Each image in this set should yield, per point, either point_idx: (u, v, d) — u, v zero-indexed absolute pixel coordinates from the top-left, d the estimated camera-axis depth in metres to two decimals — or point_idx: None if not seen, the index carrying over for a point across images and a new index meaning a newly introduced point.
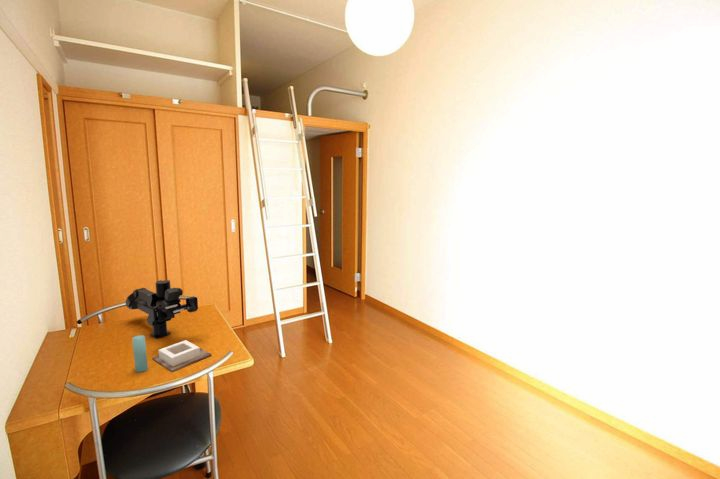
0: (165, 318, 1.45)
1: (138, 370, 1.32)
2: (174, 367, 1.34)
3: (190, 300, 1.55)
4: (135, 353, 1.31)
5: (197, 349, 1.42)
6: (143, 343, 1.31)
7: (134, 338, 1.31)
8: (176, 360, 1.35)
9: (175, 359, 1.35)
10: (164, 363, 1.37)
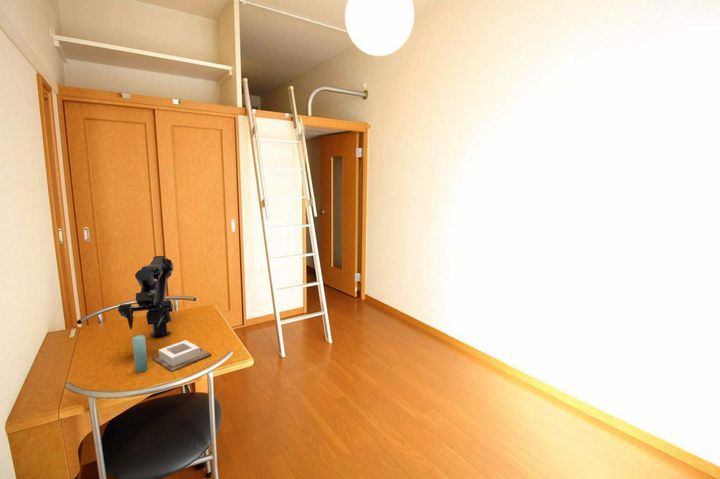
0: None
1: (138, 370, 1.32)
2: (174, 367, 1.34)
3: (160, 308, 1.42)
4: (135, 353, 1.31)
5: (197, 349, 1.42)
6: (143, 343, 1.31)
7: (134, 338, 1.31)
8: (176, 360, 1.35)
9: (175, 359, 1.35)
10: (164, 363, 1.37)
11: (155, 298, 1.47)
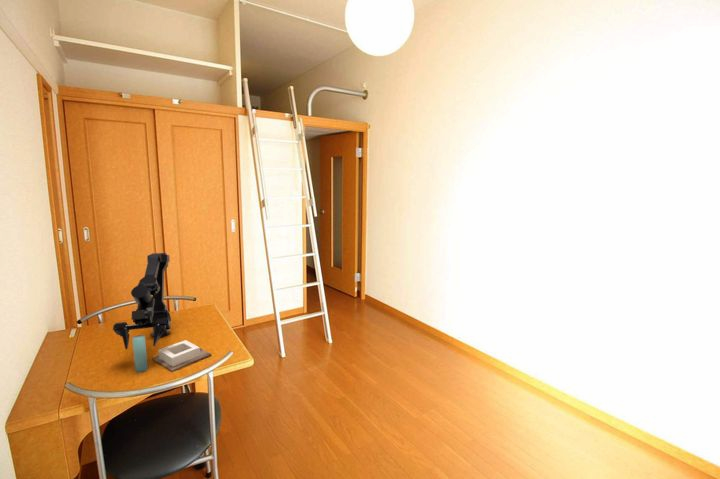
0: None
1: (138, 370, 1.32)
2: (174, 367, 1.34)
3: (157, 326, 1.36)
4: (135, 353, 1.31)
5: (197, 349, 1.42)
6: (143, 343, 1.31)
7: (134, 338, 1.31)
8: (176, 360, 1.35)
9: (175, 359, 1.35)
10: (164, 363, 1.37)
11: (152, 315, 1.41)
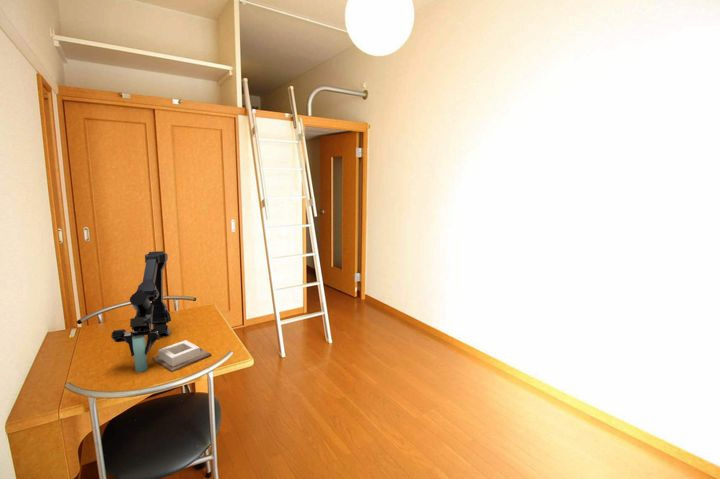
0: None
1: (138, 370, 1.32)
2: (174, 367, 1.34)
3: (149, 335, 1.34)
4: (135, 353, 1.31)
5: (197, 349, 1.42)
6: (143, 343, 1.31)
7: (134, 338, 1.31)
8: (176, 360, 1.35)
9: (175, 359, 1.35)
10: (164, 363, 1.37)
11: (151, 322, 1.39)
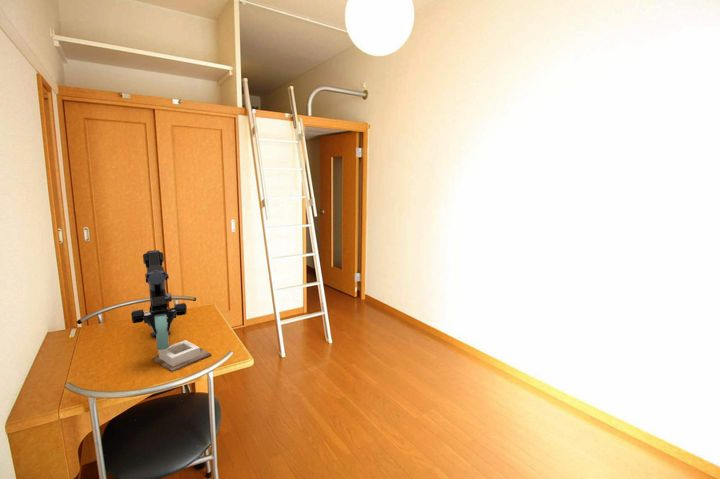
0: (150, 325, 1.36)
1: (161, 347, 1.35)
2: (174, 367, 1.34)
3: (169, 313, 1.38)
4: (158, 331, 1.34)
5: (197, 349, 1.42)
6: (166, 321, 1.35)
7: (156, 316, 1.34)
8: (176, 360, 1.35)
9: (175, 359, 1.35)
10: (164, 363, 1.37)
11: None
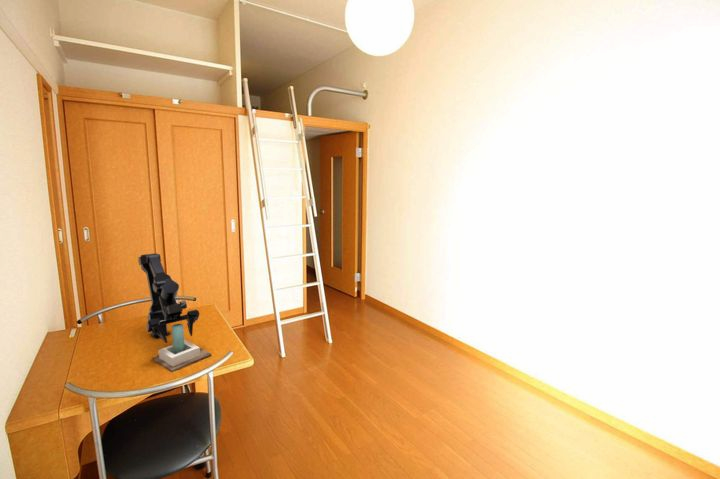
0: (158, 335, 1.38)
1: None
2: (174, 367, 1.34)
3: (191, 318, 1.44)
4: (176, 340, 1.39)
5: (197, 349, 1.42)
6: None
7: (174, 326, 1.39)
8: (176, 360, 1.35)
9: (175, 359, 1.35)
10: (164, 363, 1.37)
11: None
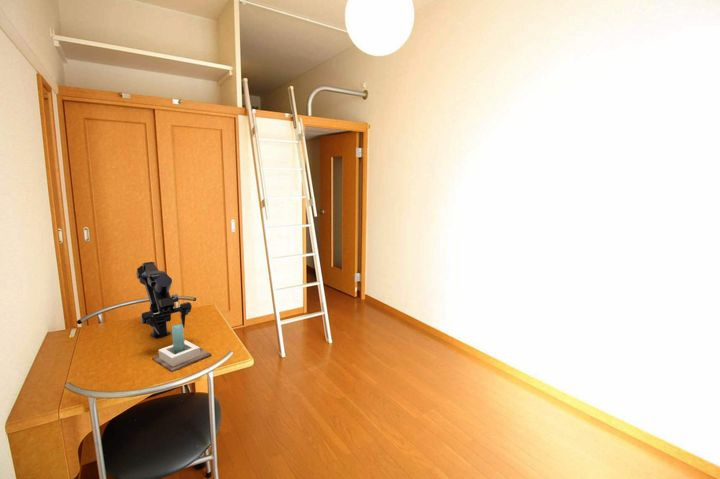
0: (152, 326, 1.46)
1: None
2: (174, 367, 1.34)
3: (183, 310, 1.51)
4: (176, 341, 1.39)
5: (197, 349, 1.42)
6: None
7: (174, 327, 1.39)
8: (176, 360, 1.35)
9: (175, 359, 1.35)
10: (164, 363, 1.37)
11: None
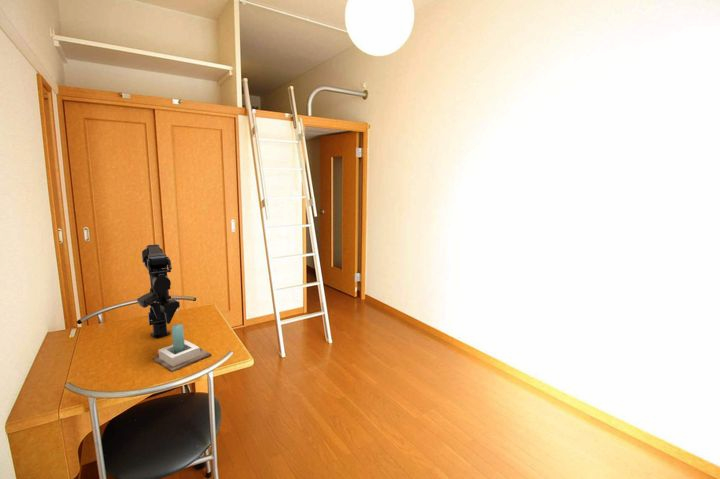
0: None
1: None
2: (174, 367, 1.34)
3: (162, 311, 1.41)
4: (176, 341, 1.39)
5: (197, 349, 1.42)
6: None
7: (174, 327, 1.39)
8: (176, 360, 1.35)
9: (175, 359, 1.35)
10: (164, 363, 1.37)
11: (164, 293, 1.43)
